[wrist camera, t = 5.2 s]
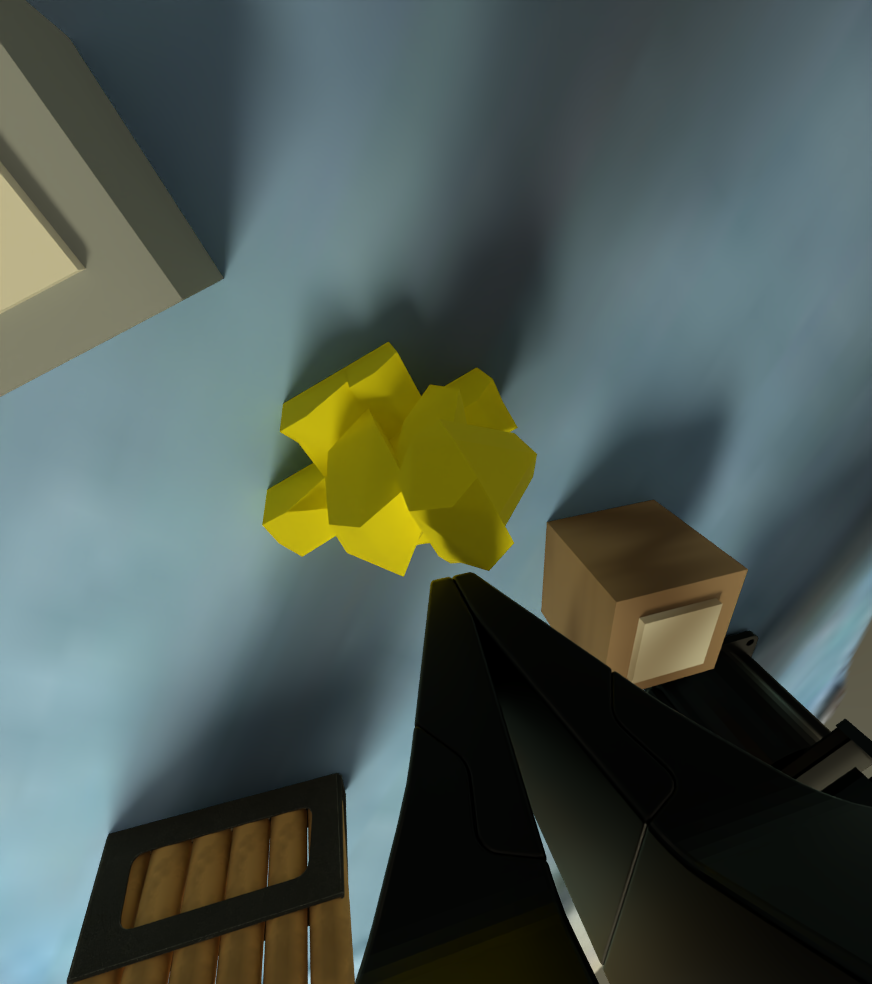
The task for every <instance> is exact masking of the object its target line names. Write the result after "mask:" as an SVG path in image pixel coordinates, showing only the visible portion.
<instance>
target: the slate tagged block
mask: <svg viewBox="0 0 872 984" xmlns="http://www.w3.org/2000/svg"><path fill="white" fill-rule="evenodd" d="M222 279H224V278H223V276H222V275H221V273H220V272H219V270H218V269H217V267H216V265H215V264H214V262H213V261H212V259H211V258H210V256H209V255H208V253H207V251H206V250H205V248H204V247H203V245H202V244H201V242H200V241H199V239H198V237H197V236H196V234H195V233H194V231H193V230H192V228H191V227H190V225H189V223H188V222H187V220H186V219H185V217H184V216H183V214H182V213H181V211H180V209H179V208H178V206H177V205H176V203H175V202H174V200H173V199H172V197H171V195H170V194H169V192H168V191H167V189H166V188H165V186H164V185H163V183H162V181H161V180H160V178H159V177H158V175H157V174H156V172H155V171H154V169H153V167H152V166H151V164H150V163H149V161H148V160H147V158H146V157H145V155H144V154H143V152H142V150H141V149H140V147H139V146H138V144H137V143H136V141H135V140H134V138H133V136H132V135H131V133H130V132H129V130H128V129H127V127H126V126H125V124H124V122H123V121H122V119H121V118H120V116H119V115H118V113H117V112H116V110H115V108H114V107H113V105H112V104H111V102H110V101H109V99H108V98H107V96H106V94H105V93H104V91H103V90H102V88H101V87H100V85H99V84H98V82H97V80H96V79H95V77H94V76H93V74H92V73H91V71H90V70H89V68H88V66H87V65H86V63H85V62H84V60H83V59H82V57H81V56H80V54H79V52H78V51H77V49H76V48H75V46H74V45H73V43H72V42H71V40H70V38H69V37H68V36H66V35H65V34H64V33H63V32H62V31H61V30H59V29H58V28H57V27H56V26H55V25H54V24H52V23H51V22H50V21H49V20H48V19H47V18H45V17H44V16H43V15H42V14H41V13H40V12H38V11H37V10H36V9H35V8H34V7H33V6H31V5H30V4H29V3H28V2H27V1H26V0H0V397H1V396H3V395H4V394H6V393H8V392H10V391H12V390H14V389H16V388H18V387H20V386H22V385H23V384H25V383H27V382H29V381H31V380H33V379H35V378H37V377H39V376H41V375H42V374H44V373H46V372H48V371H50V370H52V369H54V368H56V367H58V366H60V365H61V364H63V363H65V362H67V361H69V360H71V359H73V358H75V357H77V356H79V355H80V354H82V353H84V352H86V351H88V350H90V349H92V348H94V347H96V346H97V345H99V344H101V343H103V342H105V341H107V340H109V339H111V338H113V337H114V336H116V335H118V334H120V333H122V332H124V331H126V330H128V329H130V328H132V327H133V326H135V325H137V324H139V323H141V322H143V321H145V320H147V319H149V318H150V317H152V316H154V315H156V314H158V313H160V312H162V311H164V310H166V309H167V308H169V307H171V306H173V305H175V304H177V303H179V302H181V301H183V300H185V299H186V298H188V297H190V296H192V295H194V294H196V293H198V292H200V291H202V290H203V289H205V288H207V287H209V286H211V285H213V284H215V283H217V282H219V281H220V280H222Z"/></svg>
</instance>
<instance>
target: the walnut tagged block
mask: <svg viewBox="0 0 872 984" xmlns="http://www.w3.org/2000/svg"><path fill="white" fill-rule="evenodd" d="M747 571H748V569H747V568H745V567H744V566H743V565H741V564H740V563H739V562H737V561H736V560H735V559H733V558H732V557H731V556H729V555H728V554H727V553H725V552H724V551H723V550H721V549H720V548H719V547H717V546H716V545H714V544H713V543H712V542H710V541H709V540H708V539H706V538H705V537H704V536H702V535H701V534H700V533H698V532H697V531H696V530H694V529H693V528H692V527H690V526H689V525H687V524H686V523H685V522H683V521H682V520H681V519H679V518H678V517H677V516H675V515H674V514H673V513H671V512H670V511H669V510H667V509H666V508H665V507H663V506H662V505H661V504H659V503H658V502H656V501H655V500H650V501H645V502H640V503H635V504H631V505H626V506H621V507H616V508H611V509H607V510H602V511H597V512H592V513H587V514H583V515H578V516H573V517H568V518H563V519H559V520H554V521H549V522H547V529H546V544H545V560H544V576H543V592H542V608H541V612H542V613H543V615H544V616H545V618H546V619H547V621H548V623H549V624H550V626H551V627H552V628H554V629H555V630H557V631H558V632H560V633H561V634H562V635H564V636H565V637H567V638H568V639H570V640H571V641H572V642H574V643H575V644H577V645H578V646H580V647H581V648H583V649H584V650H585V651H587V652H588V653H590V654H591V655H593V656H594V657H596V658H597V659H598V660H600V661H601V662H603V663H604V664H606V665H607V666H609V667H610V668H611V669H612V672H613V671H616V672H617V673H619V674H620V675H622V676H623V677H625V678H626V679H628V680H629V681H630V682H632V683H633V684H635V685H636V686H638V687H639V688H641V689H645V688H649V687H652V686H656V685H659V684H663V683H666V682H669V681H673V680H676V679H680V678H683V677H687V676H690V675H693V674H697V673H700V672H704V671H707V670H710V669H714V667H715V664H716V661H717V658H718V655H719V652H720V649H721V646H722V643H723V640H724V638H725V635H726V632H727V629H728V626H729V623H730V620H731V617H732V614H733V611H734V609H735V606H736V603H737V600H738V597H739V594H740V591H741V588H742V585H743V582H744V580H745V577H746V574H747Z"/></svg>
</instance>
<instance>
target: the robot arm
mask: <svg viewBox="0 0 872 984" xmlns="http://www.w3.org/2000/svg"><path fill="white" fill-rule="evenodd" d="M757 641H758V637H757V636H756V635H755V634H754V633H753V632H751V631H745V632H742V633H738V634H735V635H731V636H728V637H725V638H724V640H723V643H722V646H721V649H720V652H719V655H718V658H717V661H716V664H715V667H714V669H710V670H707V671H704V672H700V673H697V674H693V675H690V676H687V677H683V678H680V679H676V680H673V681H669V682H666V683H663V684H659V685H656V686H652V687H649V688H646V691H644V690H642V689H641V688H639V687H638V686H636V685H635V684H633V683H632V682H630V681H629V680H628V679H626V678H625V677H623V676H622V675H620V674H619V673H617V672H616V671H613V672H612V669H611V668H610V667H609V666H607V665H606V664H604V663H603V662H601V661H600V660H598V659H597V658H596V657H594V656H593V655H591V654H590V653H588V652H587V651H585V650H584V649H583V648H581V647H580V646H578V645H577V644H575V643H574V642H572V641H571V640H570V639H568V638H567V637H565V636H564V635H562V634H561V633H560V632H558V631H557V630H555V629H554V628H552V627H551V626H549V625H548V624H547V623H545V622H544V621H542V620H541V619H539V618H538V617H536V616H535V615H534V614H532V613H531V612H529V611H528V610H526V609H525V608H523V607H522V606H521V605H519V604H518V603H516V602H515V601H513V600H512V599H510V598H509V597H508V596H506V595H505V594H503V593H502V592H500V591H499V590H497V589H496V588H495V587H493V586H492V585H490V584H489V583H487V582H486V581H484V580H483V579H482V578H480V577H479V576H477V575H476V574H474V573H472V572H468V573H464V574H459V575H455V576H454V577H453V578H450V577H446V578H441V579H437V580H433V581H432V582H431V585H430V594H429V603H428V611H427V620H426V629H425V638H424V646H423V655H422V664H421V673H420V682H419V690H418V699H417V708H416V717H415V728H414V732H413V741H412V749H411V756H410V763H409V770H408V776H407V783H406V787H405V792H404V797H403V801H402V806H401V811H400V815H399V820H398V824H397V828H396V832H395V836H394V840H393V844H392V848H391V852H390V856H389V860H388V864H387V868H386V872H385V876H384V880H383V884H382V888H381V892H380V896H379V900H378V904H377V908H376V912H375V916H374V920H373V924H372V928H371V931H370V935H369V939H368V942H367V946H366V949H365V952H364V956H363V959H362V962H361V966H360V969H359V972H358V975H357V978H356V981H355V984H599V983H598V980H597V978H596V976H595V974H594V972H593V970H592V968H591V966H590V964H589V962H588V960H587V958H586V956H585V954H584V951H583V949H582V947H581V945H580V943H579V941H578V939H577V937H576V935H575V933H574V931H573V929H572V927H571V924H570V922H569V920H568V918H567V916H566V914H565V911H564V908H563V906H562V903H561V900H560V898H559V895H558V892H557V889H556V886H555V883H554V880H553V877H552V874H551V871H550V868H549V865H548V863H547V862H546V854H545V851H544V848H543V844H542V841H541V838H540V834H539V831H538V828H537V824H536V821H535V818H536V820H537V823H538V825H539V827H540V829H541V832H542V834H543V836H544V838H545V840H546V843H547V845H548V847H549V849H550V852H551V854H552V856H553V858H554V861H555V863H556V865H557V867H558V869H559V872H560V874H561V876H562V878H563V881H564V883H565V885H566V887H567V890H568V892H569V894H570V896H571V898H572V901H573V903H574V905H575V907H576V910H577V912H578V914H579V916H580V919H581V921H582V923H583V925H584V927H585V930H586V932H587V934H588V936H589V939H590V941H591V943H592V945H593V948H594V950H595V952H596V954H597V957H598V959H599V961H600V963H601V964H602V965H604V966H603V970H604V972H605V975H606V977H607V979H608V981H609V983H610V984H872V777H870V778H869V779H868V778H867V777H866V776H865V775H864V774H863V773H862V771H863V770H865V769H866V768H868V767H869V766H871V765H872V741H871V740H870V739H869V738H867V737H866V736H865V735H864V734H863V733H862V732H860V731H859V730H858V729H857V728H856V727H855V726H853V725H852V724H851V723H850V722H849V721H847V720H846V719H844V720H843V721H841V722H840V723H838V724H837V725H836V726H837V728H836V729H835V730H833V731H832V732H831V731H830V730H829V729H828V728H826V727H825V726H824V725H823V724H822V723H821V722H820V721H819V720H818V719H817V718H816V717H815V716H814V715H813V714H811V713H810V712H809V711H808V710H807V709H806V708H805V707H804V706H803V705H802V704H801V703H800V702H799V701H798V700H796V699H795V698H794V697H793V696H792V695H791V694H790V693H789V692H788V691H787V690H786V689H785V688H784V687H783V686H781V685H780V684H779V683H778V682H777V681H776V680H775V679H774V678H773V677H772V676H771V675H770V674H769V673H768V672H766V671H765V670H764V669H763V668H762V667H761V666H760V665H759V664H758V663H757V662H756V661H755V660H754V659H753V658H751V656H752V654H753V651H754V649H755V646H756V644H757ZM533 814H534V815H533ZM534 816H535V818H534Z"/></svg>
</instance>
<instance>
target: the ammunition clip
mask: <svg viewBox="0 0 872 984" xmlns="http://www.w3.org/2000/svg"><path fill="white" fill-rule="evenodd" d="M307 828H308V842H309V862H308V866H307ZM269 841H270V851H269ZM268 858H269V872H268ZM267 875H268V887H267ZM307 926H310V969H311V984H355V977H354V962H353V947H352V932H351V917H350V902H349V887H348V858H347V822H346V793H345V788H344V784H343V780H342V776H341V775H339V774H338V773H335V774H331V775H327V776H324V777H320V778H316V779H312V780H309V781H305V782H301V783H297V784H294V785H290V786H286V787H282V788H279V789H275V790H271V791H267V792H264V793H260V794H256V795H253V796H249V797H245V798H241V799H238V800H234V801H230V802H226V803H223V804H219V805H215V806H211V807H208V808H204V809H200V810H196V811H193V812H189V813H185V814H181V815H178V816H174V817H170V818H167V819H163V820H159V821H155V822H152V823H148V824H144V825H140V826H137V827H133V828H129V829H125V830H122V831H118V832H114V833H110V834H109V835H108V837H107V839H106V843H105V846H104V850H103V854H102V857H101V861H100V864H99V868H98V871H97V875H96V879H95V882H94V886H93V889H92V893H91V896H90V900H89V903H88V907H87V911H86V914H85V918H84V921H83V925H82V928H81V932H80V936H79V939H78V943H77V946H76V950H75V953H74V957H73V960H72V964H71V968H70V971H69V975H68V978H67V984H215V978H216V984H261V976H262V959H263V943H264V941H265V955H264V976H263V984H308V932H307ZM218 956H219V958H218ZM217 961H218V967H217ZM216 969H217V976H216ZM169 973H170V977H169ZM168 979H169V983H168Z"/></svg>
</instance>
